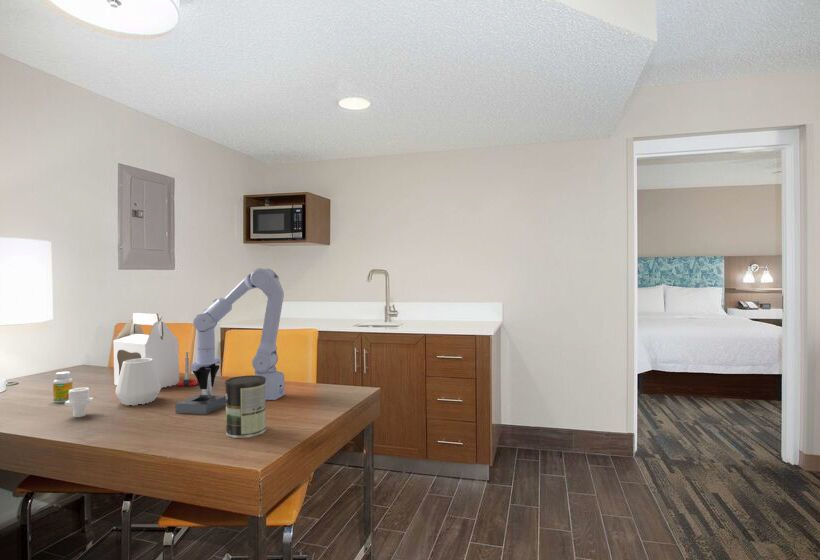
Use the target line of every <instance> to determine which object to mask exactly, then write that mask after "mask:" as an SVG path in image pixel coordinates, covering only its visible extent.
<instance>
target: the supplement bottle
mask: <svg viewBox="0 0 820 560" xmlns="http://www.w3.org/2000/svg"><path fill="white" fill-rule="evenodd" d="M70 376H71V372H70V371H58V372H56V373H55V378H56V379H54V380H53V384H52V388H53V389H52V391H53V393H52V394H53V398H52V399H53V403H55V404H60V403H61V404H62V403H65V402H66V401H68V400H69V393H68V392H69V390H71V389H74V386H73V385H74V383H73V382H74V381H73V380H74V379H73V378H71V377H70Z"/></svg>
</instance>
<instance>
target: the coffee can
mask: <svg viewBox="0 0 820 560" xmlns="http://www.w3.org/2000/svg"><path fill="white" fill-rule="evenodd" d="M265 381H266V378H265V377H263V376H255V374H254V375H252V374H250V375H240V376H235V377H231V378H228V379H226V380H224V385H225V386H224V387H225V396H226V406H225V423H226V424H225V429H226V430H225V431H226V432H225V435H226V436H227V437H229V438H233V439H247V438H248V439H249V438H253V437H257V436H261V435H262V434H264V433H265V432H266V431H267V424H266V423H267V420H266V418H267V417H266V416H267V413H266V408H267V407H266V400H265Z"/></svg>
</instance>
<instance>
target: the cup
mask: <svg viewBox="0 0 820 560" xmlns="http://www.w3.org/2000/svg"><path fill="white" fill-rule="evenodd" d="M161 389H162V388H161V385H160V382H159V379H158V375H157V372H156V369H155V366H154V362H153V359H150V358H140V359H131V360H126V361H124V362H123V364H122V368H121V371H120V375H119V379H118V383H117V386H116V387H115V396H116V397H117V398H118V400H119V401H120V402H121V404H122V405H123V404H125V405H124V406H129V405H132V406H139V405H138V404H142V405H145V403H147V404H150V403H152V401H153V402H154V401H155V400H156V399H157V396H158V394H159V393H160V392H161ZM149 402H150V403H149Z"/></svg>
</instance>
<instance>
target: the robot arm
mask: <svg viewBox="0 0 820 560" xmlns="http://www.w3.org/2000/svg"><path fill="white" fill-rule="evenodd" d="M253 289H259V290H260V291H261V292H263V293H264V295H265V297H267V301H266V308H265V313H264V319H263V326H262V331H261V337H260V342H259V345H258V346H257V347H258V348H257V349H256V353H255V356H253V359H252V362H251V364H252V368H253V370H254V375H255V376H263V377H265V378H266V381H265V401H275V400H278V399H280V398H281V397H284V396H285V395H286V394H287V393H285V392H286V391H285V389H286V387H285V375H284V374H285V373H284V372H282V371H278V369H277V367H276V365H277V363H278V361H279V356H278V353H277V350H278V346H277V339H278V333H279V328H280V321H281V320H280V319H281V315H282V308H283V303H284V297H285V293H284V290H283V287H282V284H281V282H280V280H279V275H278V274H277V273H276V272H275V271H274V270H273V269H271V268H256V269H254V270H252V272H251V273H248V274H247V275H246V276H244V278H243V279H242V280H241V281H240V282H239V283H238V284H237V285H236V286H235V287H234V288H233V289H232V290H231V291H230V292H229V293H228V294H227V295H226V296H225V297H218V298H215V299H214V300H212V304H211V305H210V306H209V307H208V308H204V309H203V313H200V314H199V313H198V314H196V316H195V317H194V318H193V327H194V329H195V330H196V360H194V362H193V363H192V364H189V372H192V373H193V374H194V376H195V378H196V379H197V380H198V383H199V384H198V387H199V388H200V390H202V389H207V383H208V375H209V372H210V369H206V368H211V388H213V387H214V383H215V379H216V376H217V374H218V371H219V369H220V365H218V364H222V358H221V357H216V346H215V345H216V341H215V339H216V338H215V328H216V327H217V325H218V323H219V322H220V321H221V320H222V319H223V318H224V317H225V316H227V315H228V313H230V312H231V311H232V310H233V309H232V308H233V304H234V303H236V302H237V300H239V299H240V298H241V297H243V296H244V295H245V294H246V293H247V292H249V291H250V290H253Z"/></svg>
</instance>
